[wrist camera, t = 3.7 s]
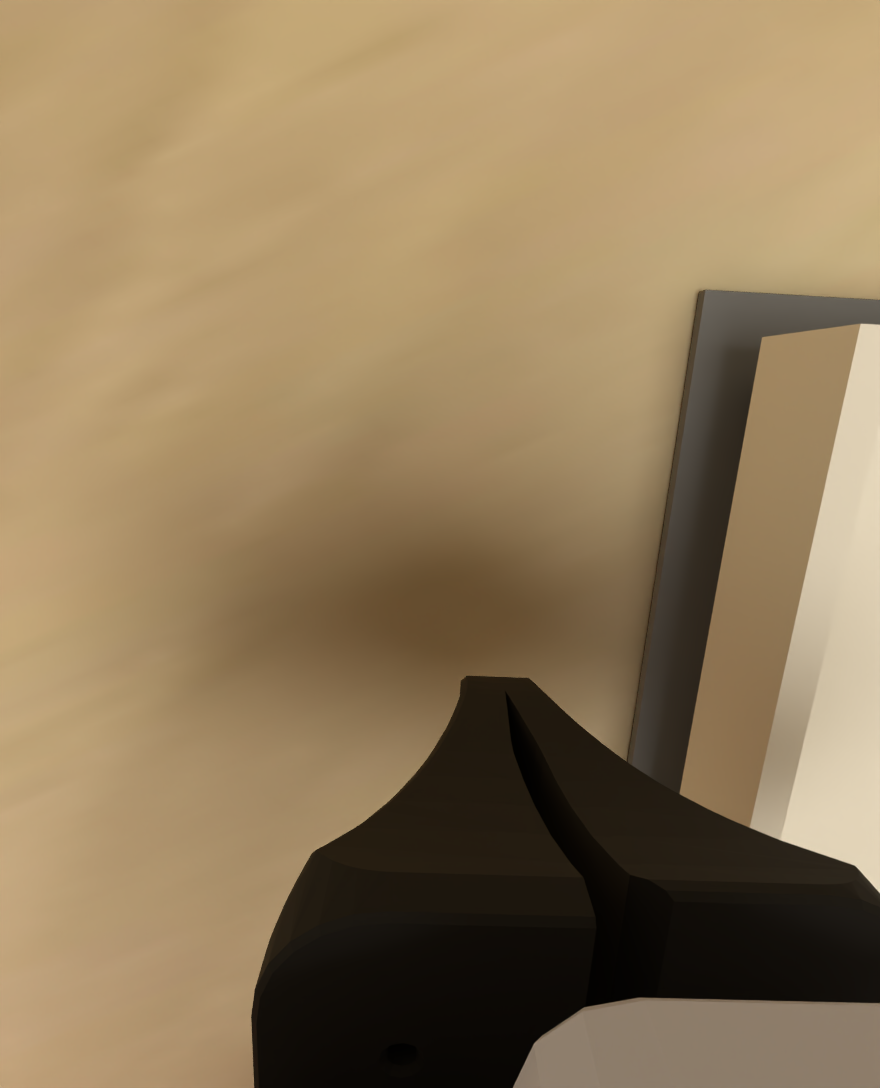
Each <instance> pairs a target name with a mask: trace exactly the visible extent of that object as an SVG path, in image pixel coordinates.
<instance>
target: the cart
mask: <svg viewBox="0 0 880 1088" xmlns="http://www.w3.org/2000/svg"><path fill="white" fill-rule="evenodd" d="M680 795H682V796H684V797H686V798H688V799H690V800H692V801H694V802H696V803H698V804H699V805H701V806H703V807H705V808H707V809H709V810H711V811H713V812H715V813H718V814H720V815H722V816H724V817H726V818H728V819H731V820H733V821H735V822H737V823H740V824H742V825H745V826H747V827H749V828H752V829H754V830H757V831H759V832H761V833H764V834H766V835H769V836H771V837H773V838H776V839H779V840H781V841H784V842H787V843H790V844H793V845H796V846H799V847H802V848H805V849H808V850H811V851H814V852H816V853H819V854H822V855H825V856H828V857H831V858H834V859H837V860H840V861H843V862H846V863H849V864H852V865H855V866H856V867H857V868H858V869H859V870H860V871H861V873H862V874H863V875H864V876H865V877H866V878H867V879H868V880H869V881H870V883H871V884H872V885H873V886H874V887H875V888H876V889H877V891H878V892H879V893H880V325H876V324H854V325H847V326H840V327H833V328H825V329H818V330H811V331H803V332H796V333H789V334H782V335H774V336H767V337H762V341H761V346H760V352H759V357H758V363H757V368H756V374H755V380H754V385H753V391H752V396H751V402H750V407H749V413H748V418H747V424H746V429H745V435H744V440H743V446H742V451H741V457H740V462H739V468H738V473H737V479H736V485H735V490H734V496H733V501H732V507H731V512H730V518H729V523H728V529H727V534H726V540H725V545H724V551H723V556H722V562H721V567H720V573H719V578H718V584H717V590H716V595H715V601H714V606H713V612H712V617H711V623H710V628H709V634H708V639H707V645H706V650H705V656H704V661H703V667H702V672H701V678H700V683H699V689H698V694H697V700H696V706H695V711H694V717H693V722H692V728H691V733H690V739H689V744H688V750H687V755H686V761H685V766H684V772H683V777H682V783H681V788H680Z"/></svg>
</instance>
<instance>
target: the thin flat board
mask: <svg viewBox="0 0 880 1088" xmlns="http://www.w3.org/2000/svg"><path fill="white" fill-rule="evenodd" d="M854 324H876V325H880V300H870V299H853V298H836V297H819V296H802V295H785V294H768V293H751V292H734V291H717V290H703V291H701V292H699V296H698V303H697V309H696V316H695V322H694V329H693V336H692V342H691V349H690V355H689V362H688V368H687V375H686V382H685V388H684V395H683V401H682V408H681V414H680V421H679V427H678V434H677V441H676V447H675V454H674V460H673V467H672V473H671V480H670V487H669V493H668V500H667V506H666V513H665V519H664V526H663V532H662V539H661V546H660V552H659V559H658V565H657V572H656V578H655V585H654V592H653V598H652V605H651V611H650V618H649V624H648V631H647V637H646V644H645V651H644V657H643V664H642V670H641V677H640V683H639V690H638V697H637V703H636V710H635V716H634V723H633V729H632V736H631V742H630V749H629V756H628V763H629V764H631V765H632V766H634V767H635V768H637V769H638V770H640V771H642V772H643V773H645V774H646V775H648V776H649V777H651V778H653V779H654V780H656V781H657V782H659V783H661V784H662V785H664V786H666V787H668V788H669V789H671V790H673V791H675V792H676V793H678V794H680V788H681V783H682V777H683V772H684V766H685V761H686V755H687V750H688V744H689V739H690V733H691V728H692V722H693V717H694V711H695V706H696V700H697V694H698V689H699V683H700V678H701V672H702V667H703V661H704V656H705V650H706V645H707V639H708V634H709V628H710V623H711V617H712V612H713V606H714V601H715V595H716V590H717V584H718V578H719V573H720V567H721V562H722V556H723V551H724V545H725V540H726V534H727V529H728V523H729V518H730V512H731V507H732V501H733V496H734V490H735V485H736V479H737V473H738V468H739V462H740V457H741V451H742V446H743V440H744V435H745V429H746V424H747V418H748V413H749V407H750V402H751V396H752V391H753V385H754V380H755V374H756V368H757V363H758V357H759V352H760V346H761V341H762V337H767V336H774V335H782V334H789V333H796V332H803V331H811V330H818V329H825V328H833V327H840V326H847V325H854Z"/></svg>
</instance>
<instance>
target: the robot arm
mask: <svg viewBox="0 0 880 1088" xmlns="http://www.w3.org/2000/svg"><path fill="white" fill-rule="evenodd" d="M251 1019H252V1043H253V1067H254V1088H880V893H879V892H878V891H877V889H876V888H875V887H874V886H873V885H872V884H871V883H870V881H869V880H868V879H867V878H866V877H865V876H864V875H863V874H862V873H861V871H860V870H859V869H858V868H857V867H856V866H855V865H852V864H849V863H846V862H843V861H840V860H837V859H834V858H831V857H828V856H825V855H822V854H819V853H816V852H814V851H811V850H808V849H805V848H802V847H799V846H796V845H793V844H790V843H787V842H784V841H781V840H779V839H776V838H773V837H771V836H769V835H766V834H764V833H761V832H759V831H757V830H754V829H752V828H749V827H747V826H745V825H742V824H740V823H737V822H735V821H733V820H731V819H728V818H726V817H724V816H722V815H720V814H718V813H715V812H713V811H711V810H709V809H707V808H705V807H703V806H701V805H699V804H698V803H696V802H694V801H692V800H690V799H688V798H686V797H684V796H682V795H680V794H678V793H676V792H675V791H673V790H671V789H669V788H668V787H666V786H664V785H662V784H661V783H659V782H657V781H656V780H654V779H653V778H651V777H649V776H648V775H646V774H645V773H643V772H642V771H640V770H638V769H637V768H635V767H634V766H632V765H631V764H629V763H628V762H626V761H625V760H623V759H622V758H621V757H619V756H618V755H616V754H615V753H614V752H612V751H611V750H610V749H609V748H607V747H606V746H605V745H603V744H602V743H601V742H599V741H598V740H597V739H596V738H594V737H593V736H592V735H591V734H589V733H588V732H587V731H586V730H585V729H583V728H582V727H581V726H580V725H579V724H578V723H577V722H575V721H574V720H573V719H572V718H571V717H570V716H569V715H568V714H566V713H565V712H564V711H563V710H562V709H561V708H560V707H559V706H558V705H557V704H556V703H555V702H554V701H553V700H551V699H550V698H549V697H548V696H547V695H546V694H545V693H544V692H543V691H542V690H541V689H540V688H539V687H538V686H537V685H536V684H535V683H534V682H532V681H531V680H530V679H529V678H511V677H485V676H466V677H465V678H464V679H463V680H461V688H460V697H459V700H458V703H457V706H456V708H455V711H454V713H453V715H452V717H451V720H450V722H449V724H448V726H447V728H446V730H445V731H444V733H443V735H442V736H441V738H440V740H439V741H438V743H437V745H436V746H435V748H434V750H433V751H432V753H431V754H430V755H429V757H428V758H427V760H426V761H425V762H424V764H423V765H422V766H421V767H420V769H419V770H418V771H417V772H416V774H415V775H414V776H413V777H412V778H411V779H410V780H409V781H408V783H407V784H406V785H405V786H404V787H403V788H402V789H401V790H400V791H399V792H398V793H397V794H396V795H395V796H394V797H393V798H392V799H391V800H390V801H389V802H388V803H387V804H385V805H384V806H383V807H382V808H380V809H379V810H378V811H377V812H375V813H374V814H373V815H372V816H371V817H369V818H368V819H367V820H366V821H364V822H363V823H362V824H360V825H359V826H357V827H356V828H354V829H352V830H351V831H349V832H347V833H346V834H344V835H342V836H340V837H339V838H337V839H335V840H334V841H332V842H330V843H328V844H327V845H325V846H323V847H321V848H319V849H317V850H316V851H314V852H313V853H312V854H311V856H310V858H309V860H308V861H307V863H306V865H305V867H304V868H303V870H302V872H301V874H300V876H299V877H298V879H297V881H296V883H295V885H294V887H293V889H292V891H291V893H290V895H289V897H288V899H287V901H286V903H285V905H284V907H283V909H282V912H281V914H280V916H279V919H278V921H277V923H276V925H275V928H274V930H273V933H272V935H271V938H270V941H269V944H268V947H267V950H266V953H265V957H264V960H263V964H262V967H261V971H260V974H259V977H258V981H257V984H256V988H255V993H254V1001H253V1008H252V1016H251Z"/></svg>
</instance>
